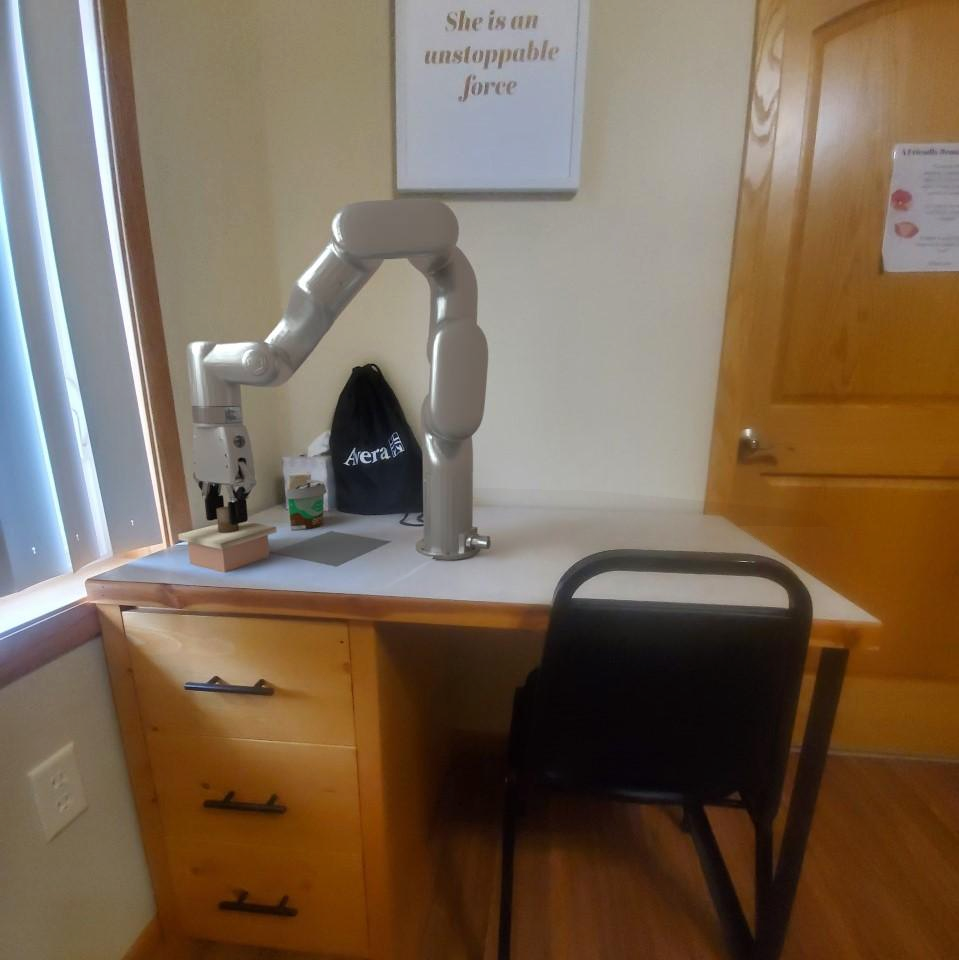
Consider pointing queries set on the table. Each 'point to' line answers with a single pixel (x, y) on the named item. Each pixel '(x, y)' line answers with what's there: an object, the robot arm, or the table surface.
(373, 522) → the table surface
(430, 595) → the table surface
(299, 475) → the box
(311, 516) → the food container
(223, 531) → the lid
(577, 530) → the table surface
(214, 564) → the open square bin
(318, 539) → the mat
